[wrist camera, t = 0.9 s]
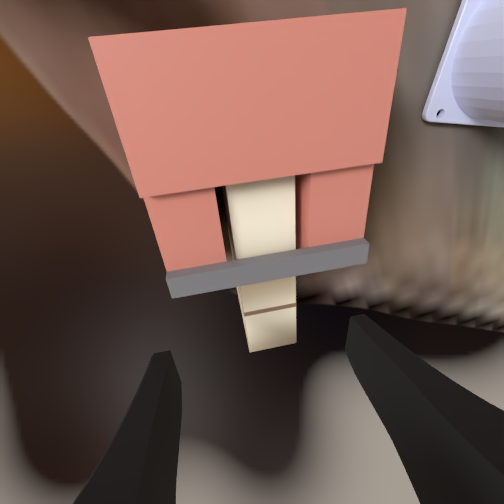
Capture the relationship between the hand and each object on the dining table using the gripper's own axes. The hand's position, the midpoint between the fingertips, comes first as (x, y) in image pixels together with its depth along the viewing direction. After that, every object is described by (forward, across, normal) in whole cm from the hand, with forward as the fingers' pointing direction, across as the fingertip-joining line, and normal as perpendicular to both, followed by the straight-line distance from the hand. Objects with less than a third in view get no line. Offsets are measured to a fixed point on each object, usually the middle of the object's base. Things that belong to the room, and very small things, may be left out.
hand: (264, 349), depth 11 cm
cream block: (+10, -1, 0) cm, 11 cm away
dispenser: (+10, -1, -5) cm, 11 cm away
